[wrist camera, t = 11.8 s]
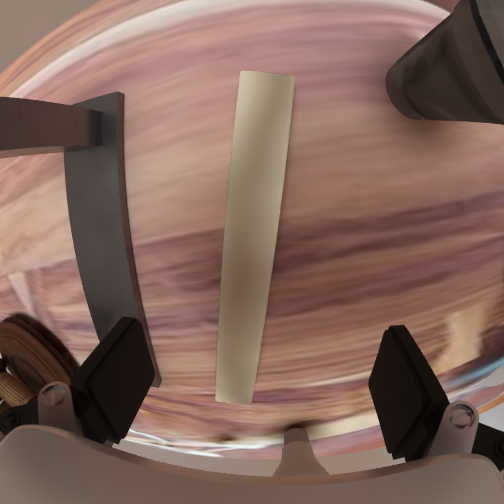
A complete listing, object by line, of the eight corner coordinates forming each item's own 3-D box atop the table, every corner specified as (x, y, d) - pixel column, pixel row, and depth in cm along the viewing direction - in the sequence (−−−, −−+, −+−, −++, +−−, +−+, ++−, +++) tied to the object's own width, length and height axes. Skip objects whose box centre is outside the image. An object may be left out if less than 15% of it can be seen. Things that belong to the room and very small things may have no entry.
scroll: (18, 369, 26) (-44, 451, 8) (-1, 292, 22) (-100, 379, 3) (94, 417, 28) (43, 524, 9) (86, 347, 23) (-11, 494, 4)
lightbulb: (326, 411, 24) (342, 500, 14) (318, 439, 26) (328, 515, 16) (268, 414, 25) (268, 507, 14) (267, 442, 27) (266, 520, 16)
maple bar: (289, 89, 15) (295, 76, 13) (252, 381, 23) (250, 405, 20) (244, 84, 15) (240, 70, 13) (219, 377, 23) (215, 401, 20)
